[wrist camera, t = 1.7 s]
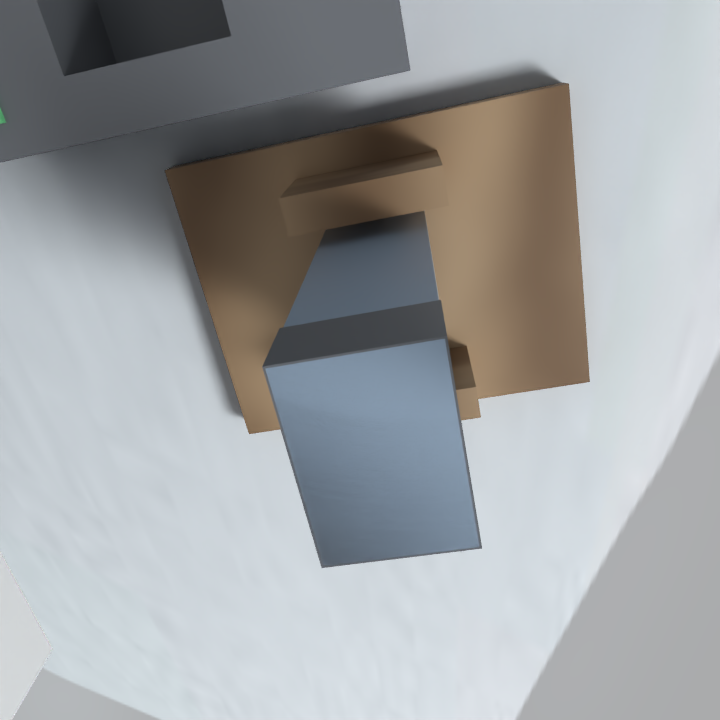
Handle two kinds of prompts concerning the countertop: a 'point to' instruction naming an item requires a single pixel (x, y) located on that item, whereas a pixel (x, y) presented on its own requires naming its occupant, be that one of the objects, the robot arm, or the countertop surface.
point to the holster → (445, 229)
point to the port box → (176, 61)
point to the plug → (373, 399)
